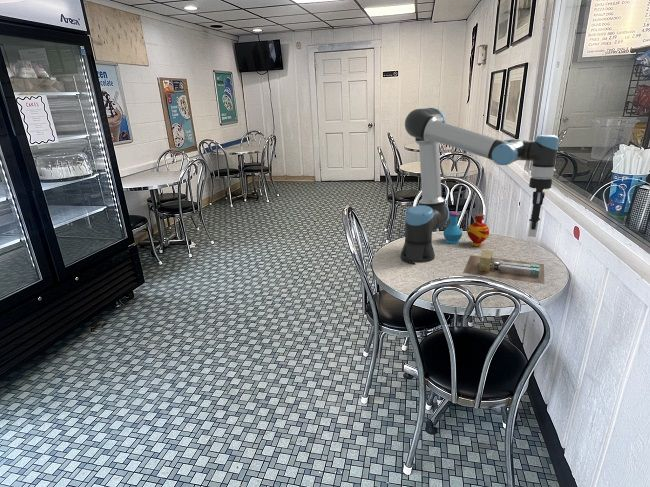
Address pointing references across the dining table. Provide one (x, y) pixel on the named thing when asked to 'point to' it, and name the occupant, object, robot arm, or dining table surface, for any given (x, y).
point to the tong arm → (515, 264)
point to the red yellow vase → (478, 231)
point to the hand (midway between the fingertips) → (531, 236)
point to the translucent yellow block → (485, 260)
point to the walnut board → (473, 269)
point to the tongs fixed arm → (515, 269)
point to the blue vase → (453, 229)
